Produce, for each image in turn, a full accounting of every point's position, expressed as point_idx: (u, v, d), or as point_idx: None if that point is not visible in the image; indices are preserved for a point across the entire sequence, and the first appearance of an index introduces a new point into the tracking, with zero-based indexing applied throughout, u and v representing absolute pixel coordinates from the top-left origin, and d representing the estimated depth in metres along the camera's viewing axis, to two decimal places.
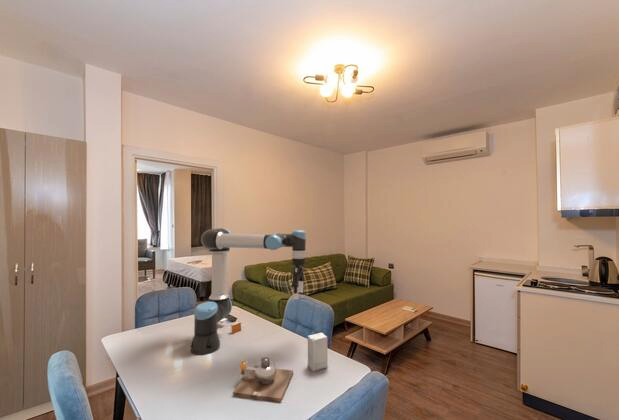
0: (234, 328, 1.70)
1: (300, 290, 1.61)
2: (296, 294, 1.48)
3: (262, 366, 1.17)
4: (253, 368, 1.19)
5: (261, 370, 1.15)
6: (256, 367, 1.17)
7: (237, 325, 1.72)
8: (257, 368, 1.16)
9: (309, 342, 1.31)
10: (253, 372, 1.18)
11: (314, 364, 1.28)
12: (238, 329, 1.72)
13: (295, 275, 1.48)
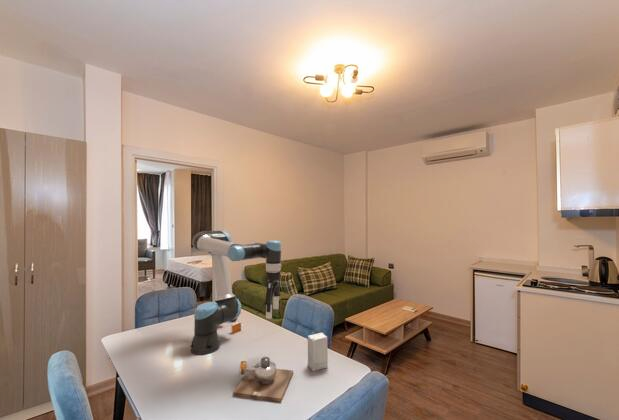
0: (234, 328, 1.70)
1: (275, 306, 1.46)
2: (269, 313, 1.32)
3: (262, 366, 1.17)
4: (253, 368, 1.19)
5: (261, 370, 1.15)
6: (256, 367, 1.17)
7: (237, 325, 1.72)
8: (257, 368, 1.16)
9: (309, 342, 1.31)
10: (253, 372, 1.18)
11: (314, 364, 1.28)
12: (238, 329, 1.72)
13: (268, 291, 1.32)
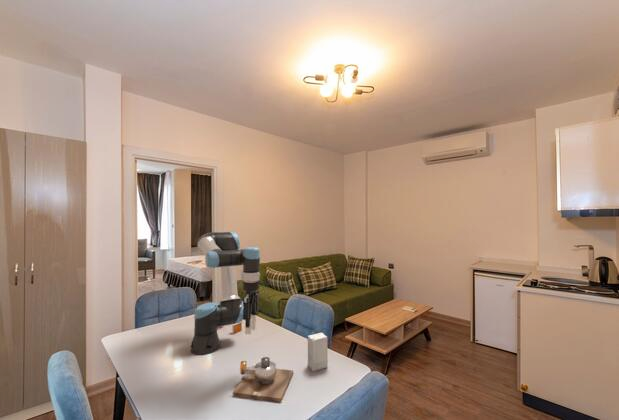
0: (235, 328, 1.70)
1: (252, 326, 1.30)
2: (248, 328, 1.25)
3: (262, 366, 1.17)
4: (253, 368, 1.19)
5: (261, 370, 1.15)
6: (256, 367, 1.17)
7: (238, 325, 1.72)
8: (257, 368, 1.16)
9: (309, 342, 1.31)
10: (253, 372, 1.18)
11: (314, 364, 1.28)
12: (239, 329, 1.72)
13: (245, 307, 1.22)
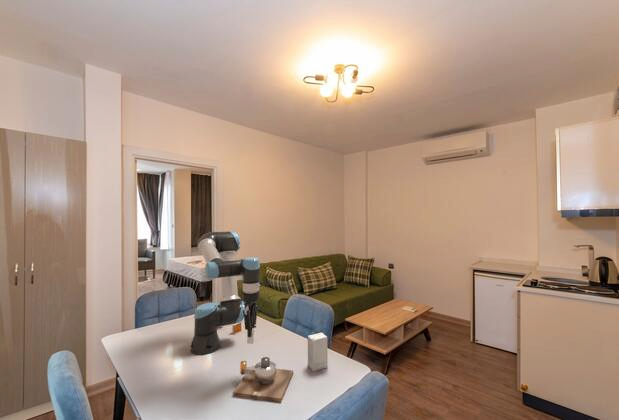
0: (235, 328, 1.69)
1: None
2: (250, 338, 1.26)
3: (262, 366, 1.17)
4: (253, 368, 1.19)
5: (261, 370, 1.15)
6: (256, 367, 1.17)
7: (238, 325, 1.72)
8: (257, 368, 1.16)
9: (309, 342, 1.31)
10: (253, 372, 1.18)
11: (314, 364, 1.28)
12: (239, 329, 1.72)
13: (246, 318, 1.23)
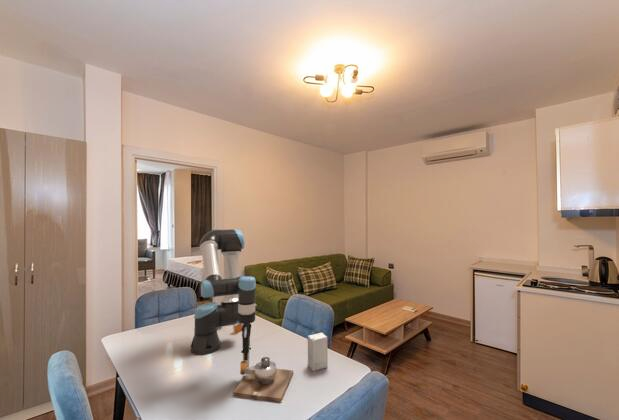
0: (236, 328, 1.69)
1: None
2: (246, 361, 1.21)
3: (262, 366, 1.17)
4: (253, 368, 1.19)
5: (261, 370, 1.15)
6: (256, 367, 1.17)
7: (239, 325, 1.72)
8: (257, 368, 1.16)
9: (309, 342, 1.31)
10: (253, 372, 1.18)
11: (314, 364, 1.28)
12: (240, 329, 1.72)
13: (245, 341, 1.18)
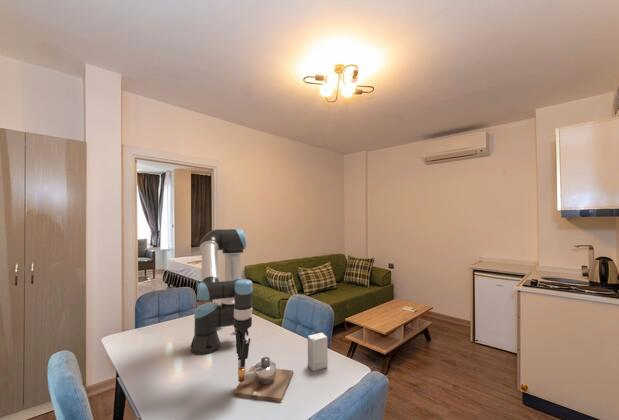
0: None
1: None
2: None
3: (264, 366, 1.17)
4: (251, 372, 1.16)
5: (265, 370, 1.15)
6: (258, 369, 1.15)
7: None
8: (260, 370, 1.15)
9: (309, 342, 1.31)
10: (254, 375, 1.15)
11: (314, 364, 1.28)
12: None
13: (245, 347, 1.13)
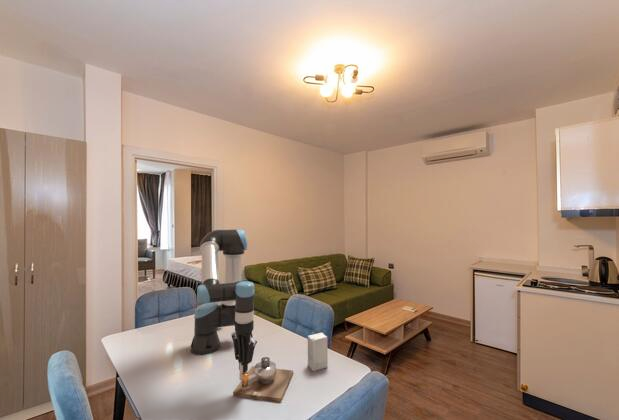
0: None
1: None
2: None
3: (266, 366, 1.17)
4: (253, 375, 1.14)
5: (269, 369, 1.15)
6: (261, 370, 1.15)
7: None
8: (263, 370, 1.15)
9: (309, 342, 1.31)
10: (256, 378, 1.14)
11: (314, 364, 1.28)
12: None
13: (251, 350, 1.10)
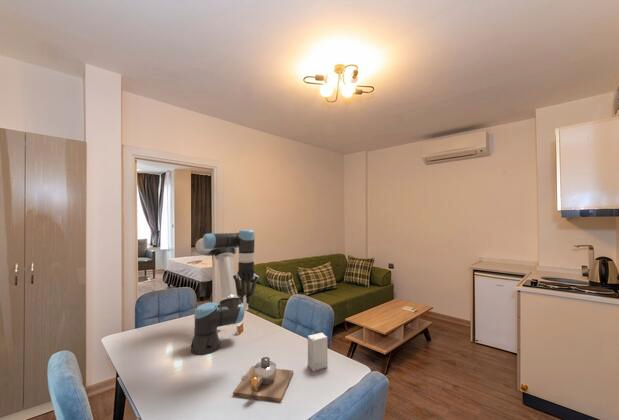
0: (240, 329, 1.69)
1: None
2: (247, 304, 1.35)
3: (268, 366, 1.17)
4: (258, 377, 1.13)
5: (272, 368, 1.17)
6: (265, 370, 1.15)
7: (241, 326, 1.71)
8: (267, 370, 1.15)
9: (309, 342, 1.31)
10: (262, 379, 1.13)
11: (314, 364, 1.28)
12: (242, 329, 1.72)
13: (255, 284, 1.34)
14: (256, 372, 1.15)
